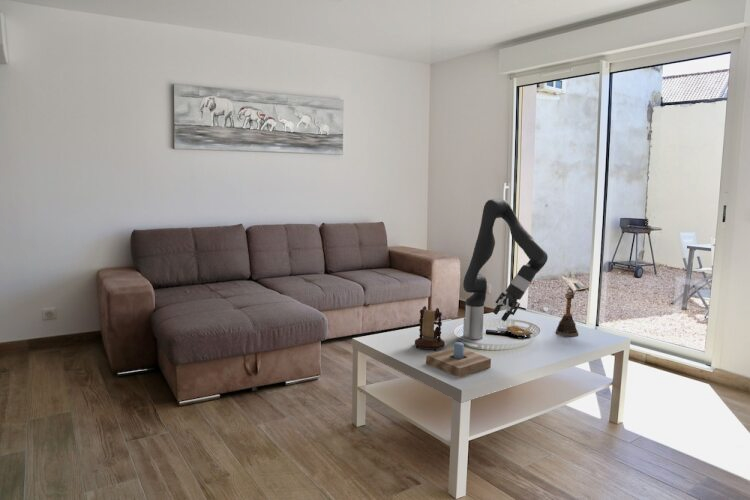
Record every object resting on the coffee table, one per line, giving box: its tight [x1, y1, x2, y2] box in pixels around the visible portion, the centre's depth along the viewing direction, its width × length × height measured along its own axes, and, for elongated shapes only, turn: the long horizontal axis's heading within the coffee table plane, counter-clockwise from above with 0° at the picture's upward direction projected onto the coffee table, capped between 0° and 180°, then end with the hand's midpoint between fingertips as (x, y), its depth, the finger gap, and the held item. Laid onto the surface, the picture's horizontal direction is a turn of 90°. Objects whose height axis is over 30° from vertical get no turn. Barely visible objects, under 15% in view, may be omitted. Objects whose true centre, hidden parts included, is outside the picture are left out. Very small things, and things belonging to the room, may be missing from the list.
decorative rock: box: [505, 325, 533, 337], centre depth 277 cm, size 11×4×15 cm
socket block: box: [425, 347, 492, 378], centre depth 230 cm, size 20×20×4 cm
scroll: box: [414, 305, 446, 352], centre depth 254 cm, size 15×15×20 cm
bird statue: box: [555, 269, 590, 338], centre depth 277 cm, size 17×13×35 cm
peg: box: [453, 341, 465, 360], centre depth 230 cm, size 4×4×10 cm
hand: (498, 316), depth 237 cm, fingers open, 8 cm apart
